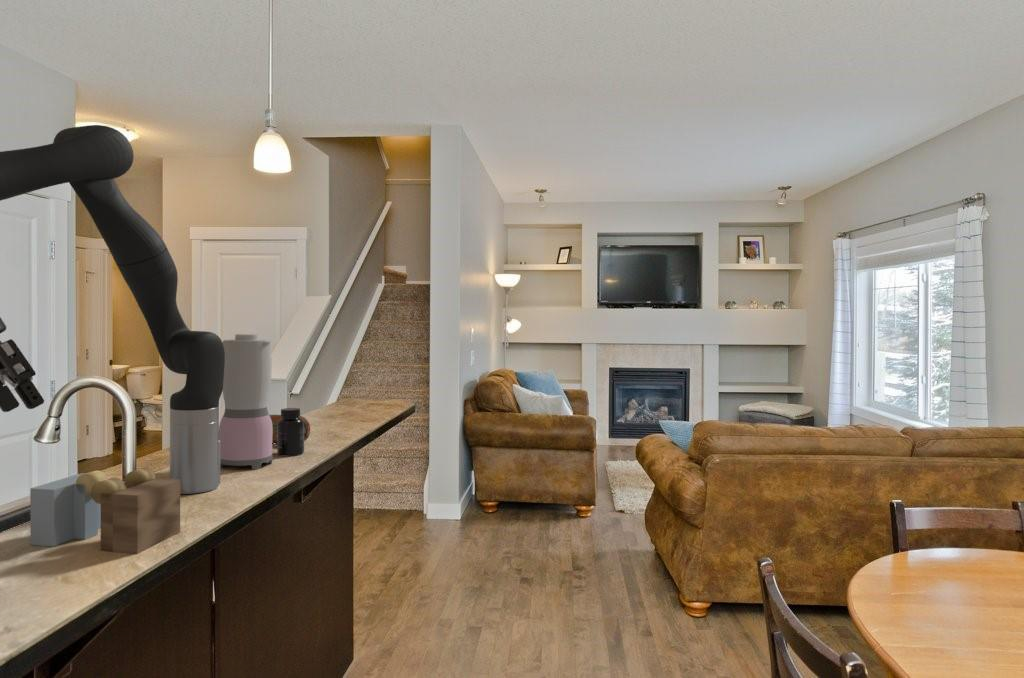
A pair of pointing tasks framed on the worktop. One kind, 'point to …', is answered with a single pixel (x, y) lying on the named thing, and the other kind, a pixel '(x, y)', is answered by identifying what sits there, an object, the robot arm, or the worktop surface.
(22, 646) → the worktop surface
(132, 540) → the fixed leaf
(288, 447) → the supplement bottle
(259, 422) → the blender
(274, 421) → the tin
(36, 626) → the worktop surface
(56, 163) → the robot arm
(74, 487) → the grey block
